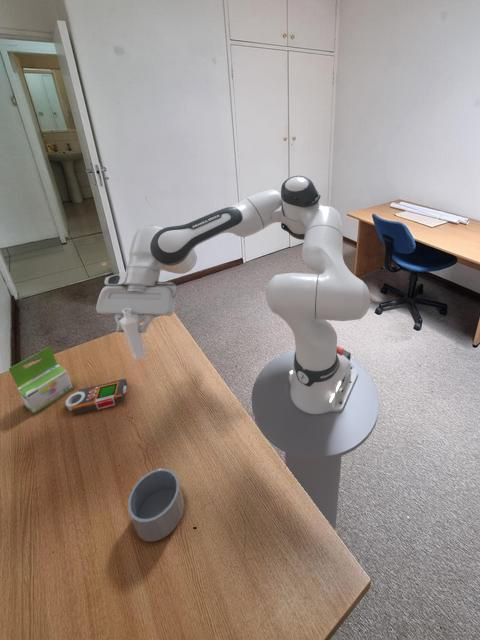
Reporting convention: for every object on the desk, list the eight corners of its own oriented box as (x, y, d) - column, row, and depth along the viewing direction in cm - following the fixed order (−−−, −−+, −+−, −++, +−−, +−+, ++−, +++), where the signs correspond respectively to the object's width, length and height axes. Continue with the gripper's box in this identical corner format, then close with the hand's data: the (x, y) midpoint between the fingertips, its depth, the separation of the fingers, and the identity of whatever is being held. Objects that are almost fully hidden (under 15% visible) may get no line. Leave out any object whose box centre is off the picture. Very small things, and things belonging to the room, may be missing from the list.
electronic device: (69, 391, 92) (126, 377, 96) (72, 398, 93) (129, 384, 97) (60, 411, 86) (122, 396, 90) (64, 419, 88) (125, 403, 91)
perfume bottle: (131, 350, 92) (118, 307, 85) (148, 347, 93) (136, 303, 87) (128, 362, 88) (114, 317, 81) (146, 358, 89) (133, 313, 83)
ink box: (33, 415, 88) (14, 377, 82) (25, 406, 91) (6, 368, 85) (74, 388, 96) (59, 352, 90) (65, 380, 99) (50, 344, 93)
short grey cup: (168, 478, 74) (162, 459, 71) (193, 508, 68) (188, 489, 65) (126, 517, 67) (118, 498, 64) (150, 554, 62) (143, 534, 59)
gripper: (182, 284, 94) (174, 334, 89) (112, 283, 94) (101, 332, 89) (173, 279, 88) (164, 332, 83) (99, 277, 88) (86, 330, 84)
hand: (131, 332), depth 86 cm, fingers closed on perfume bottle, 4 cm apart
